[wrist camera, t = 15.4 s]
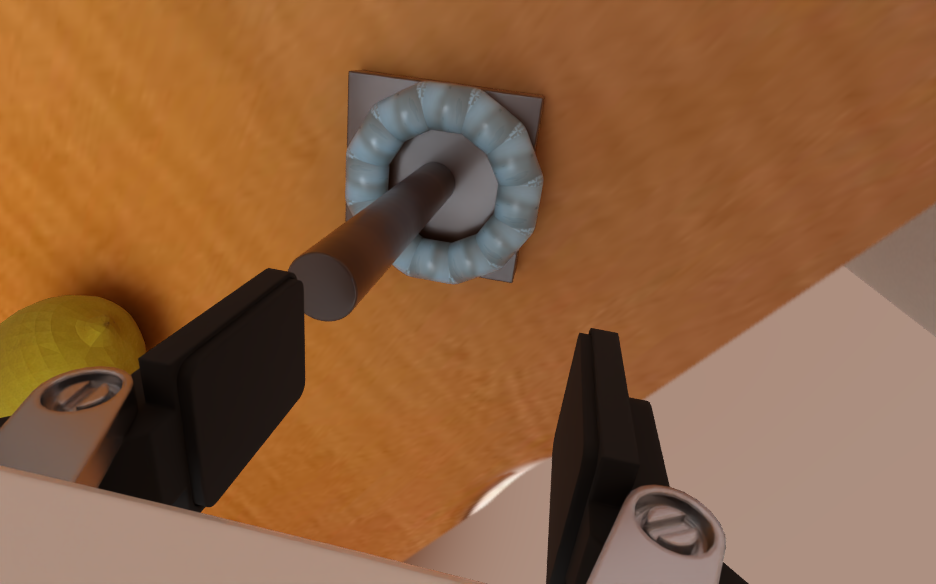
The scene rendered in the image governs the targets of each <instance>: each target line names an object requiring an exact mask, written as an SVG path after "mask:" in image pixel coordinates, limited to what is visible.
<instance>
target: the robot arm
mask: <svg viewBox="0 0 936 584" xmlns="http://www.w3.org/2000/svg"><path fill="white" fill-rule="evenodd" d="M138 361H139V367H140V368H139V369H138V370H136V371H135V372H133V373H132V374H131V375H130V374H129V373H127V372H126V371H125V370H122V369H119V368H115V367H106V366H95V367H85V368H80V369H75V370H71V371H68V372H65V373H62V374H59V375H57V376H54V377H52V378H50V379H49V380H47V381H45V382H43V383H41V384H40V385H39V386H38V387H37V388H36V389H34V390H33V391H32V392H31V393H30V395H29V396H28V397H27V398H26V399H25V400H24V402H23V403H22V404H21V405H20V406H19V407H18V408H17V410H16V411H15V412H14V413H13V414H12V415H11V416H7V417H2V418H0V584H486V583H483V582H479V581H474V580H471V579H466V578H462V577H458V576H455V575H450V574H446V573H443V572H439V571H434V570H431V569H427V568H423V567H419V566H415V565H411V564H407V563H403V562H399V561H395V560H391V559H387V558H383V557H379V556H375V555H371V554H367V553H363V552H359V551H355V550H351V549H346V548H342V547H338V546H334V545H330V544H326V543H322V542H318V541H314V540H310V539H306V538H302V537H298V536H293V535H289V534H285V533H281V532H277V531H273V530H269V529H265V528H261V527H257V526H253V525H248V524H244V523H240V522H236V521H232V520H228V519H224V518H220V517H215V516H211V515H207V514H203V513H201V511H202V510H203V509H204V508H205V507H212V506H213V505H214V504H215V503H216V502H217V501H218V500H219V499H220V497H221V496H222V495H223V494H224V492H225V491H226V490H227V489H228V487H229V486H230V485H231V484H232V482H233V481H234V480H235V479H236V477H237V476H238V475H239V474H240V472H241V471H242V470H243V469H244V467H245V466H246V465H247V464H248V462H249V461H250V460H251V458H252V457H253V456H254V455H255V453H256V452H257V451H258V450H259V448H260V447H261V446H262V445H263V443H264V442H265V441H266V440H267V438H268V437H269V436H270V435H271V433H272V432H273V431H274V430H275V428H276V427H277V426H278V425H279V423H280V422H281V421H282V419H283V418H284V417H285V416H286V414H287V413H288V412H289V411H290V409H291V408H292V407H293V406H294V404H295V403H296V402H297V401H298V399H299V398H300V397H301V395H302V393H303V390H304V386H305V334H304V285H303V282H302V281H300V280H297V277H296V275H295V274H294V273H292V272H287V271H282V270H276V269H271V268H268V269H265V270H264V271H263V272H261V273H260V274H258V275H257V276H255V277H254V278H253V279H251V280H250V281H248V282H247V283H245V284H244V285H243V286H241V287H240V288H238V289H237V290H235V291H234V292H233V293H231V294H230V295H228V296H227V297H225V298H224V299H222V300H221V301H220V302H218V303H217V304H215V305H214V306H212V307H211V308H210V309H208V310H207V311H205V312H204V313H202V314H201V315H200V316H198V317H197V318H195V319H194V320H192V321H191V322H190V323H188V324H187V325H185V326H184V327H182V328H181V329H179V330H178V331H177V332H175V333H174V334H172V335H171V336H169V337H168V338H167V339H165V340H164V341H162V342H161V343H159V344H158V345H157V346H155V347H154V348H152V349H151V350H149V351H148V352H147V353H145V354H144V355H142V356H141V357H139V358H138ZM725 549H726V540H725V534H724V531H723V529H722V527H721V524H720V522H719V521H718V520H717V519H716V517H715V516H714V515H713V513H712V512H711V511H710V510H709V509H708V508H707V507H705V506H704V505H703V504H702V503H700V502H699V501H698V500H697V499H695V498H693V497H692V496H690V495H688V494H686V493H685V492H682V491H680V490H677V489H674V488H671V487H670V486H669V482H668V477H667V473H666V469H665V465H664V460H663V455H662V451H661V447H660V442H659V438H658V433H657V429H656V425H655V420H654V416H653V411H652V407H651V405H650V402H648V401H645V400H640V399H635V398H630V397H629V396H628V390H627V384H626V378H625V372H624V366H623V360H622V354H621V348H620V342H619V336H618V333H615V332H610V331H604V330H599V329H593V328H591V329H590V331H589V334H583V333H579V336H578V339H577V343H576V348H575V352H574V356H573V360H572V365H571V369H570V373H569V377H568V382H567V386H566V390H565V394H564V398H563V403H562V407H561V411H560V415H559V420H558V424H557V428H556V432H555V437H554V443H553V452H552V473H551V493H550V515H549V536H548V557H547V576H546V577H547V578H546V584H748V583H747V582H746V581H745V580H744V579H742V578H741V577H740V576H739V575H737V574H736V573H735V572H734V571H733V570H732V569H730V568H729V567H728V566H727V565H726V564H725V563H724V562H723V559H724V554H725Z"/></svg>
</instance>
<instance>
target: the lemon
mask: <svg viewBox="0 0 936 584" xmlns="http://www.w3.org/2000/svg"><path fill="white" fill-rule="evenodd" d="M145 353H146V346H145V342H144V340H143V337H142V335H141V332H140V330H139V328H138V326H137V324H136V322H135V321H134V319H133V318H132V317H131V315H130V314H129V313H128V312H127V311H126V310H124V309H123V308H122V307H120V306H119V305H117V304H115V303H113V302H112V301H109V300H107V299H104V298H101V297H98V296H85V295H63V296H58V297H53V298H48V299H45V300H42V301H39V302H37V303H34V304H32V305H30V306H27V307H25V308H23V309H21V310H19V311H17V312H16V313H14V314H13V315H12V316H10V317H9V318H7V319H6V320H5V321H3V322H2V323H1V324H0V418H2V417H7V416H11V415H12V414H13V413H14V412H15V411H16V410H17V408H18V407H19V406H20V405H21V404H22V403H23V402H24V400H25V399H26V398H27V397H28V396H29V395H30V393H31V392H32V391H33V390H34V389H36V388H37V387H38V386H39V385H40V384H41V383H43V382H45V381H47V380H49V379H50V378H52V377H54V376H57V375H59V374H62V373H65V372H68V371H71V370H75V369H80V368H85V367H95V366H106V367H115V368H119V369H122V370H125V371H126V372H127V373H129V374H130V375H131V374H132V373H133V372H135V371H136V370H138V369H139V368H140V367H139V361H138V358H139V357H141V356H142V355H144V354H145Z"/></svg>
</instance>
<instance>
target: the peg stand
mask: <svg viewBox="0 0 936 584" xmlns="http://www.w3.org/2000/svg"><path fill="white" fill-rule="evenodd" d="M422 81H433V82H440V83H448V84H455V85H462V86H469V87H475V88H479V89H481V90H483V91H484V92H486V93H487V94H488V95H489V96H490V97H492V98H493V99H494V100H495V101H496V102H498V103H499V104H500V105H501V106H503V107H504V108H505V109H506V110H507V111H509V112H510V113H511V114H512V115H513V116H515V117H516V118H517V119H518V120H519V121H520V122H522V124H523V125H524V126H525V128H526V130H527V133H528V135H529V138H530V141H531V143H532V146H533V149H534V152H536V146H537V140H538V134H539V128H540V122H541V116H542V110H543V104H544V98H545V96H543V95H536V94H529V93H522V92H515V91H507V90H500V89H493V88H486V87H479V86H471V85H464V84H457V83H450V82H443V81H435V80H428V79H421V78H414V77H407V76H400V75H392V74H385V73H378V72H371V71H364V70H355V71H349V81H348V128H347V148H348V146H349V144H350V142H351V141H352V139H353V137H354V136H355V134H356V132H357V131H358V129H359V128H360V126H361V124H362V123H363V121H364V119H365V118H366V116H367V115H368V113H369V111H370V110H371V108H372V107H373V106H374V105H375V104H376V103H377V102H379V101H381V100H383V99H385V98H387V97H389V96H392V95H394V94H396V93H398V92H400V91H402V90H404V89H406V88H408V87H411V86H413V85H415V84H417V83H419V82H422ZM497 189H498V182H497V179H496V177H495V174H494V172H493V169H492V167H491V164H490V162H489V159H488V157H487V154H485V153H484V152H483V151H482V150H480V149H479V148H478V147H477V146H475V145H474V144H473V143H472V142H471V141H469V140H468V139H467V138H466V137H464V136H463V135H462V134H456V133H449V132H443V131H436V130H430V131H427V132H425V133H423V134H421V135H418V136H416V137H414V138H411V139H409V140H407V141H405V142H404V144H403V145H402V147H401V148H400V150H399V151H398V153H397V154H396V156H395V157H394V159H393V160H392V162H391V163H390V165H389V183H388V191H387V192H386V193H384V194H383V195H382V196H380V197H379V198H378V199H376V200H375V201H374V202H372V203H371V204H369V205H368V206H367V207H365V208H364V209H363V210H361V211H360V212H359V213H357V214H356V215H355V216H353V215H352V213H351V211H350V209H349V207H348V205H347V203H346V222H345V223H344V224H342V225H341V226H340V227H338V228H337V229H336V230H334V231H333V232H331V233H330V234H329V235H327V236H326V237H325V238H323V239H322V240H321V241H319V242H318V243H316V244H315V245H314V246H312V247H311V248H310V249H308V250H307V251H306V252H304V253H303V254H302V255H300V256H299V257H297V258H296V259H295V260H294V261H293V262H292V264H291V265H290V267H289V269H288V272H292V273H294V274H295V275H296V277H297V280H300V281H302V282H303V285H304V313H305V314H306V315H308V316H310V317H312V318H314V319H317V320H321V321H336V320H340V319H342V318H344V317H346V316H347V315H348V314H350V313H351V311H352V310H353V309H354V308H355V307H356V306H357V304H358V303H359V302H360V301H361V300H362V299H363V297H364V296H365V295H366V294H367V293H368V292H369V291H370V289H371V288H372V287H373V286H374V285H375V284H376V282H377V281H378V280H379V279H380V278H381V277H382V275H383V274H384V273H385V272H386V271H387V270H388V268H389V267H390V266H391V265H392V264H393V263H394V261H395V260H396V259H397V258H398V257H399V256H400V255H401V253H402V252H403V251H404V250H405V249H406V248H407V246H408V245H409V244H410V243H411V242H412V241H413V239H414V238H415V237H416V236H417V235H418V234H419V235H420V236H422V237H423V238H426V239H432V240H438V241H443V242H449V243H453V242H455V241H458V240H461V239H464V238H466V237H469V236H472V235H475V234H477V233H478V232H479V231H480V229H481V228H482V227H483V226H484V224H485V223H486V222H487V221H488V220H489V218H490V217H491V216H492V215H493V213H494V210H495V203H496V196H497ZM518 252H519V250H518V251H517V252H516V253H515V254H514V255H513V257H512V258H511V259H510V260H509V261H508V262H507V263H506V265H505V266H504V267H502V268H501V269H499V270H497V271H495V272H492V273H489V274H486V275H483V276H480V277H481V278H487V279H492V280H498V281H503V282H509V283H512V282H513V279H514V275H515V270H516V264H517V258H518Z"/></svg>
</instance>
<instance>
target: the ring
mask: <svg viewBox="0 0 936 584" xmlns="http://www.w3.org/2000/svg"><path fill="white" fill-rule="evenodd" d="M430 130H436V131H443V132H449V133H456V134H462V135H463V136H464V137H466V138H467V139H468V140H469V141H471V142H472V143H473V144H474V145H475V146H477V147H478V148H479V149H480V150H482V151H483V152H484V153H485V154H487V157H488V159H489V162H490V164H491V167H492V169H493V172H494V174H495V177H496V179H497V182H498V189H497V196H496V203H495V210H494V213H493V215H492V216H491V217H490V218H489V220H488V221H487V222H486V223H485V224H484V226H483V227H482V228H481V229H480V231H479V232H478V233H477V234H475V235H472V236H469V237H466V238H464V239H461V240H458V241H455V242H453V243H449V242H443V241H438V240H432V239H426V238H423V237H422V236H420V235H419V234H418V235H417V236H416V237H415V238H414V239H413V241H412V242H411V243H410V244H409V245H408V246H407V248H406V249H405V250H404V251H403V252H402V253H401V255H400V256H399V257H398V258H397V259H396V260H395V261H394V263H393V264H392V265H393V266H394V267H396V268H397V269H398V270H400V271H401V272H402V273H404V274H406V275H407V276H410V277H415V278H420V279H426V280H431V281H437V282H442V283H448V284H458V283H462V282H465V281H468V280H471V279H474V278H477V277H480V276H483V275H486V274H489V273H492V272H495V271H497V270H499V269H501V268H502V267H504V266H505V265H506V263H507V262H508V261H509V260H510V259H511V258H512V257H513V255H514V254H515V253H516V252H517V251H518V250H519V248H520V247H521V246H522V245H523V244H524V243H525V242H526V240H527V239H528V238H529V237H530V236H531V234H532V233H533V231H534V229H535V226H536V221H537V215H538V210H539V204H540V199H541V193H542V187H543V174H542V171H541V168H540V165H539V163H538V160H537V157H536V154H535V152H534V149H533V146H532V143H531V141H530V138H529V135H528V133H527V130H526V128H525V126H524V125H523V124H522V122H520V121H519V120H518V119H517V118H516V117H515V116H513V115H512V114H511V113H510V112H509V111H507V110H506V109H505V108H504V107H503V106H501V105H500V104H499V103H498V102H496V101H495V100H494V99H493V98H492V97H490V96H489V95H488V94H487V93H486V92H484V91H483V90H481V89H479V88H475V87H469V86H462V85H455V84H448V83H440V82H433V81H422V82H419V83H417V84H415V85H413V86H411V87H408V88H406V89H404V90H402V91H400V92H398V93H396V94H394V95H392V96H389V97H387V98H385V99H383V100H381V101H379V102H377V103H376V104H375V105H374V106H373V107H372V108H371V110H370V111H369V113H368V115H367V116H366V118H365V119H364V121H363V123H362V124H361V126H360V128H359V129H358V131H357V132H356V134H355V136H354V137H353V139H352V141H351V142H350V144H349V146H348V148H347V152H346V189H345V198H346V203H347V205H348V207H349V209H350V211H351V213H352V215H353V216H355V215H356V214H357V213H359V212H360V211H361V210H363V209H364V208H365V207H367V206H368V205H369V204H371V203H372V202H374V201H375V200H376V199H378V198H379V197H380V196H382V195H383V194H384V193H386V192H387V191H388V183H389V165H390V163H391V162H392V160H393V159H394V157H395V156H396V154H397V153H398V151H399V150H400V148H401V147H402V145H403V144H404V142H405V141H407V140H409V139H411V138H414V137H416V136H418V135H421V134H423V133H425V132H427V131H430Z"/></svg>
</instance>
